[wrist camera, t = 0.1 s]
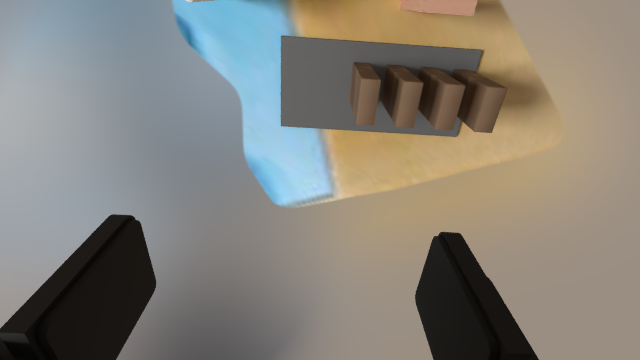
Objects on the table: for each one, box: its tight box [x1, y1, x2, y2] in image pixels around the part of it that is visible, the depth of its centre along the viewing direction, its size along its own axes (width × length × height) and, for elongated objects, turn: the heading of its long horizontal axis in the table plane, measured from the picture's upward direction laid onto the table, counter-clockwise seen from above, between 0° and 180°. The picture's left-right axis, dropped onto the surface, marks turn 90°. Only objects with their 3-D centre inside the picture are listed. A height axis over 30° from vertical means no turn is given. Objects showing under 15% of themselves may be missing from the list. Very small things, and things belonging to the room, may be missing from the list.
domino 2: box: [381, 64, 423, 128], centre depth 39 cm, size 2×5×10 cm, turn 176°
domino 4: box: [418, 67, 465, 130], centre depth 39 cm, size 2×5×10 cm, turn 176°
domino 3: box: [400, 0, 478, 16], centre depth 34 cm, size 2×5×10 cm, turn 86°
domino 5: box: [452, 69, 507, 133], centre depth 39 cm, size 2×5×10 cm, turn 176°
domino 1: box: [349, 62, 381, 126], centre depth 39 cm, size 2×5×10 cm, turn 176°
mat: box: [281, 36, 482, 137], centre depth 44 cm, size 12×26×1 cm, turn 86°
